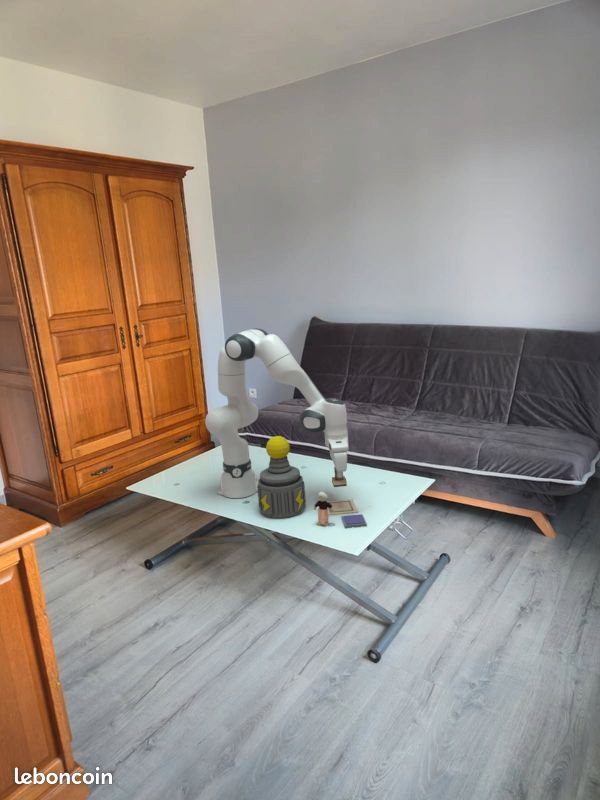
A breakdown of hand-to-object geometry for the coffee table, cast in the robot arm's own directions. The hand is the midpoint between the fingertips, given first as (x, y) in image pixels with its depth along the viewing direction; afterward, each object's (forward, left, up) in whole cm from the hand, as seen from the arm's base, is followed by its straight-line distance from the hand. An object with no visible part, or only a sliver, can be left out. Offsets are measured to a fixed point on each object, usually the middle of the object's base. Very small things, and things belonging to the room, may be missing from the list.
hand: (338, 474), depth 208 cm
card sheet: (0, 0, -14) cm, 14 cm away
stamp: (0, 0, -4) cm, 4 cm away
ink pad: (+14, +3, -14) cm, 20 cm away
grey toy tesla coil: (-4, -23, -14) cm, 27 cm away
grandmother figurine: (+13, -8, -14) cm, 21 cm away
